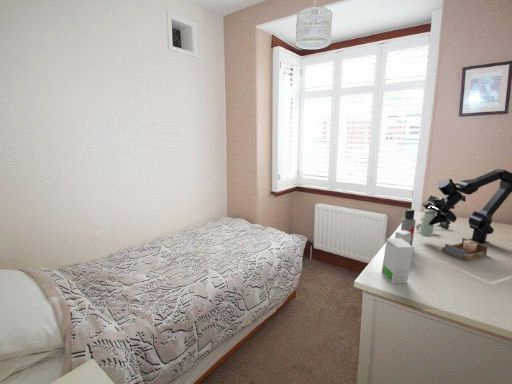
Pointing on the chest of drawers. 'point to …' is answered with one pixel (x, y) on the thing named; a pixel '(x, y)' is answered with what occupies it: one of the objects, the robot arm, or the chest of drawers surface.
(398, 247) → the skincare box
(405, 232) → the skincare box
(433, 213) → the mint green grey canister
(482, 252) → the wooden tray
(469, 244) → the jar
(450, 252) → the bar
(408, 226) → the lotion bottle
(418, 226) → the artificial flower
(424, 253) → the chest of drawers surface
